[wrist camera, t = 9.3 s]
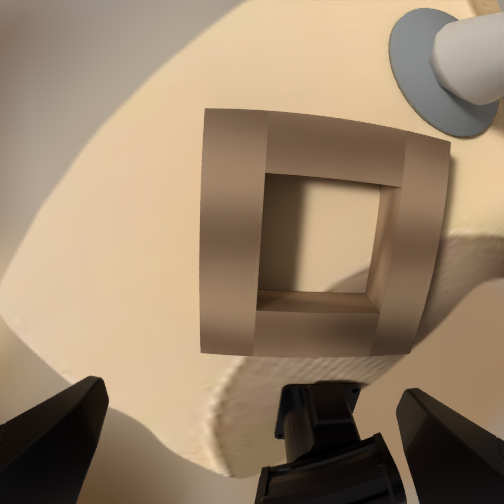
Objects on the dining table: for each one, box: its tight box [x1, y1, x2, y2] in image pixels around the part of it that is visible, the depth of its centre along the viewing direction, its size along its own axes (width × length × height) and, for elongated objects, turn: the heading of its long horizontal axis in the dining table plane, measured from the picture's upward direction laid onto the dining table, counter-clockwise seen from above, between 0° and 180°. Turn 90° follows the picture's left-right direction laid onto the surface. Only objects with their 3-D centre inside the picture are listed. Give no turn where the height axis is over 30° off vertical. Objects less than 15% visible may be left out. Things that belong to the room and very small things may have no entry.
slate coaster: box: [389, 8, 499, 136], centre depth 15 cm, size 10×10×1 cm
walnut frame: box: [199, 108, 451, 358], centre depth 18 cm, size 14×14×3 cm
